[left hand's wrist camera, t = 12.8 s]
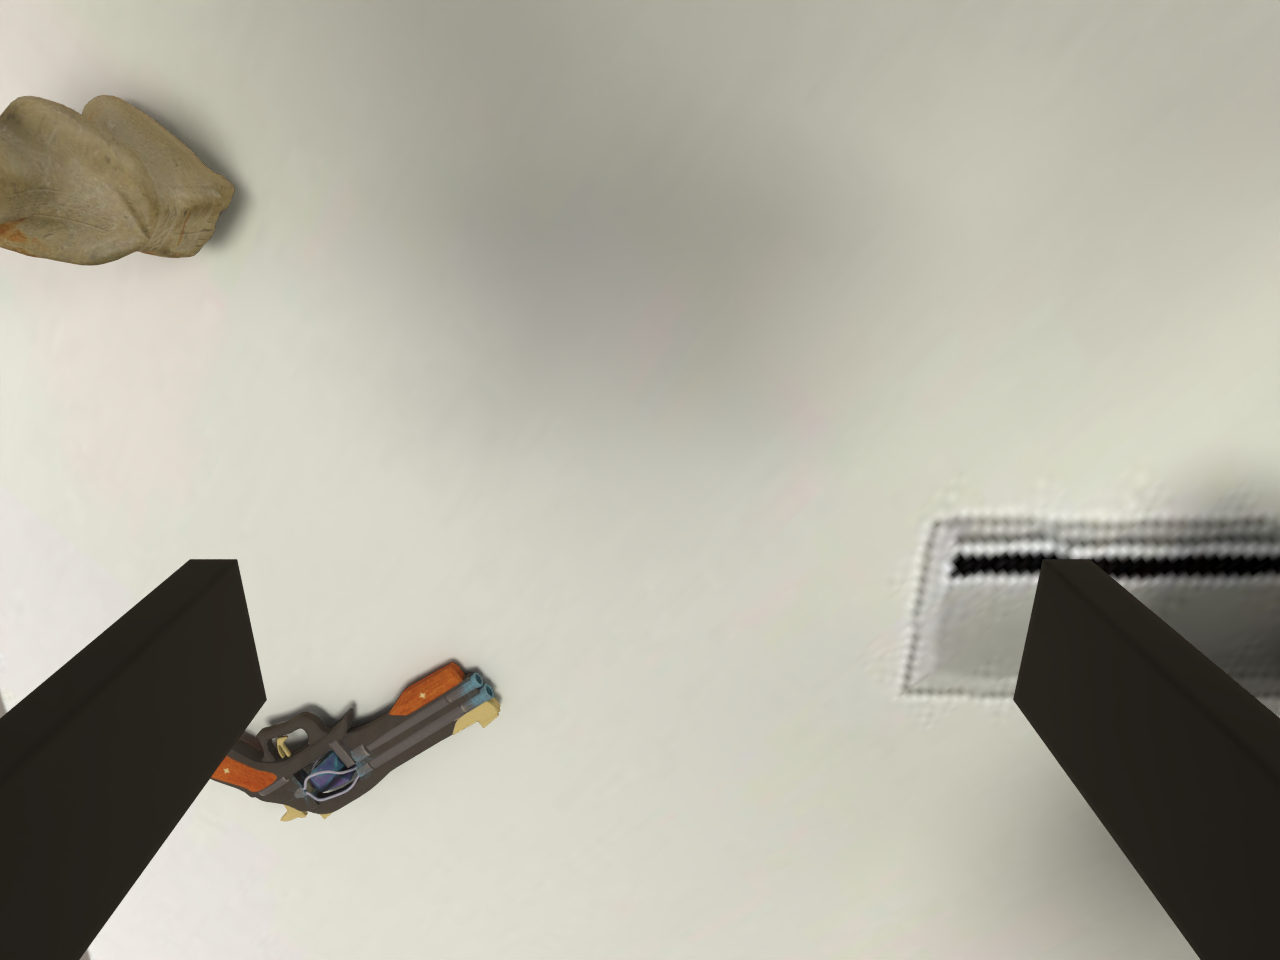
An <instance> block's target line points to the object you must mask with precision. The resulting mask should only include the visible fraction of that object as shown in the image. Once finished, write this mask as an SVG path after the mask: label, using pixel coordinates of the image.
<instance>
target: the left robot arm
mask: <svg viewBox="0 0 1280 960" xmlns="http://www.w3.org/2000/svg"><path fill="white" fill-rule="evenodd" d="M266 700H267V699H266V694H265V689H264V685H263V680H262V675H261V670H260V666H259V661H258V656H257V651H256V647H255V642H254V637H253V632H252V628H251V623H250V618H249V613H248V609H247V604H246V599H245V594H244V590H243V585H242V580H241V575H240V571H239V566H238V561H237V559H190V560H189V561H188V562H186V563H185V564H184V565H183V566H182V567H180V568H179V569H178V570H177V571H176V572H174V573H173V574H172V575H171V576H170V577H169V578H167V579H166V580H165V581H164V582H163V583H161V584H160V585H159V586H158V587H157V588H155V589H154V590H153V591H152V592H151V593H149V594H148V595H147V596H146V597H145V598H143V599H142V600H141V601H140V602H139V603H137V604H136V605H135V606H134V607H133V608H132V609H130V610H129V611H128V612H127V613H126V614H124V615H123V616H122V617H121V618H120V619H118V620H117V621H116V622H115V623H114V624H112V625H111V626H110V627H109V628H108V629H106V630H105V631H104V632H103V633H102V634H100V635H99V636H98V637H97V638H96V639H95V640H93V641H92V642H91V643H90V644H89V645H87V646H86V647H85V648H84V649H83V650H81V651H80V652H79V653H78V654H77V655H75V656H74V657H73V658H72V659H71V660H69V661H68V662H67V663H66V664H65V665H64V666H62V667H61V668H60V669H59V670H58V671H56V672H55V673H54V674H53V675H52V676H50V677H49V678H48V679H47V680H46V681H44V682H43V683H42V684H41V685H40V686H38V687H37V688H36V689H35V690H34V691H32V692H31V693H30V694H29V695H28V696H27V697H25V698H24V699H23V700H22V701H21V702H19V703H18V704H17V705H16V706H15V707H13V708H12V709H11V710H10V711H9V712H7V713H6V714H5V715H4V716H3V717H2V718H0V960H79V959H80V958H81V957H82V955H83V954H84V952H85V951H86V950H87V948H88V947H89V946H90V944H91V943H92V941H93V940H94V939H95V937H96V936H97V934H98V933H99V932H100V930H101V929H102V928H103V926H104V925H105V923H106V922H107V921H108V919H109V918H110V916H111V915H112V914H113V912H114V911H115V909H116V908H117V907H118V905H119V904H120V903H121V901H122V900H123V898H124V897H125V896H126V894H127V893H128V891H129V890H130V889H131V887H132V886H133V885H134V883H135V882H136V880H137V879H138V878H139V876H140V875H141V873H142V872H143V871H144V869H145V868H146V867H147V865H148V864H149V862H150V861H151V860H152V858H153V857H154V855H155V854H156V853H157V851H158V850H159V848H160V847H161V846H162V844H163V843H164V842H165V840H166V839H167V837H168V836H169V835H170V833H171V832H172V830H173V829H174V828H175V826H176V825H177V824H178V822H179V821H180V819H181V818H182V817H183V815H184V814H185V812H186V811H187V810H188V808H189V807H190V806H191V804H192V803H193V801H194V800H195V799H196V797H197V796H198V794H199V793H200V792H201V790H202V789H203V787H204V786H205V785H206V783H207V782H208V781H209V779H210V778H211V776H212V775H213V774H214V772H215V771H216V769H217V768H218V767H219V765H220V764H221V763H222V761H223V760H224V758H225V757H226V756H227V754H228V753H229V751H230V750H231V749H232V747H233V746H234V745H235V743H236V742H237V740H238V739H239V738H240V736H241V735H242V733H243V732H244V731H245V729H246V728H247V726H248V725H249V724H250V722H251V721H252V720H253V718H254V717H255V715H256V714H257V713H258V711H259V710H260V708H261V707H262V706H263V704H264V703H265V702H266ZM1013 700H1014V702H1015V703H1016V704H1017V706H1018V707H1019V708H1020V710H1021V711H1022V713H1023V714H1024V715H1025V717H1026V718H1027V720H1028V721H1029V722H1030V724H1031V725H1032V726H1033V728H1034V729H1035V731H1036V732H1037V733H1038V735H1039V736H1040V738H1041V739H1042V740H1043V742H1044V743H1045V745H1046V746H1047V747H1048V749H1049V750H1050V751H1051V753H1052V754H1053V756H1054V757H1055V758H1056V760H1057V761H1058V763H1059V764H1060V765H1061V767H1062V768H1063V769H1064V771H1065V772H1066V774H1067V775H1068V776H1069V778H1070V779H1071V781H1072V782H1073V783H1074V785H1075V786H1076V787H1077V789H1078V790H1079V792H1080V793H1081V794H1082V796H1083V797H1084V799H1085V800H1086V801H1087V803H1088V804H1089V806H1090V807H1091V808H1092V810H1093V811H1094V812H1095V814H1096V815H1097V817H1098V818H1099V819H1100V821H1101V822H1102V824H1103V825H1104V826H1105V828H1106V829H1107V830H1108V832H1109V833H1110V835H1111V836H1112V837H1113V839H1114V840H1115V842H1116V843H1117V844H1118V846H1119V847H1120V848H1121V850H1122V851H1123V853H1124V854H1125V855H1126V857H1127V858H1128V860H1129V861H1130V862H1131V864H1132V865H1133V867H1134V868H1135V869H1136V871H1137V872H1138V873H1139V875H1140V876H1141V878H1142V879H1143V880H1144V882H1145V883H1146V885H1147V886H1148V887H1149V889H1150V890H1151V891H1152V893H1153V894H1154V896H1155V897H1156V898H1157V900H1158V901H1159V903H1160V904H1161V905H1162V907H1163V908H1164V909H1165V911H1166V912H1167V914H1168V915H1169V916H1170V918H1171V919H1172V921H1173V922H1174V923H1175V925H1176V926H1177V928H1178V929H1179V930H1180V932H1181V933H1182V934H1183V936H1184V937H1185V939H1186V940H1187V941H1188V943H1189V944H1190V946H1191V947H1192V948H1193V950H1194V951H1195V952H1196V954H1197V955H1198V957H1199V958H1200V959H1201V960H1280V718H1279V717H1277V716H1276V715H1275V714H1274V713H1273V712H1271V711H1270V710H1269V709H1268V708H1267V707H1265V706H1264V705H1263V704H1262V703H1261V702H1259V701H1258V700H1257V699H1256V698H1255V697H1253V696H1252V695H1251V694H1250V693H1249V692H1248V691H1246V690H1245V689H1244V688H1243V687H1242V686H1240V685H1239V684H1238V683H1237V682H1236V681H1234V680H1233V679H1232V678H1231V677H1230V676H1228V675H1227V674H1226V673H1225V672H1224V671H1222V670H1221V669H1220V668H1219V667H1218V666H1216V665H1215V664H1214V663H1213V662H1212V661H1211V660H1209V659H1208V658H1207V657H1206V656H1205V655H1203V654H1202V653H1201V652H1200V651H1199V650H1197V649H1196V648H1195V647H1194V646H1193V645H1191V644H1190V643H1189V642H1188V641H1187V640H1185V639H1184V638H1183V637H1182V636H1181V635H1179V634H1178V633H1177V632H1176V631H1175V630H1174V629H1172V628H1171V627H1170V626H1169V625H1168V624H1166V623H1165V622H1164V621H1163V620H1162V619H1160V618H1159V617H1158V616H1157V615H1156V614H1154V613H1153V612H1152V611H1151V610H1150V609H1148V608H1147V607H1146V606H1145V605H1144V604H1143V603H1141V602H1140V601H1139V600H1138V599H1137V598H1135V597H1134V596H1133V595H1132V594H1131V593H1129V592H1128V591H1127V590H1126V589H1125V588H1123V587H1122V586H1121V585H1120V584H1119V583H1117V582H1116V581H1115V580H1114V579H1113V578H1111V577H1110V576H1109V575H1108V574H1107V573H1106V572H1104V571H1103V570H1102V569H1101V568H1100V567H1098V566H1097V565H1096V564H1095V563H1094V562H1092V561H1091V560H1090V559H1043V561H1042V566H1041V571H1040V575H1039V580H1038V585H1037V590H1036V594H1035V599H1034V604H1033V609H1032V613H1031V618H1030V623H1029V628H1028V632H1027V637H1026V642H1025V647H1024V651H1023V656H1022V661H1021V666H1020V670H1019V675H1018V680H1017V685H1016V689H1015V694H1014V699H1013Z"/></svg>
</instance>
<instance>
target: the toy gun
mask: <svg viewBox="0 0 1280 960" xmlns="http://www.w3.org/2000/svg"><path fill="white" fill-rule="evenodd" d="M500 706H501V705H500V704H499V703H498V701H497V700H496V699H495V698H494V692H493V689H492V688H491V686H490V685H488V684H484V685H483V679H482V677H481V676H480V675H479V674H478V673H477V672H475V673H474V674H472V673H471V672H470V673H469V674H467V675H465V674H464V673H463V671H462V670H461V669H460V668H459V666H458V665H456V664H455V663H450V664H448V665H447V666H445V667H443V668H441V669H439V670H437V671H436V672H434V673H432V674H430V675H428V676H427V677H425V678H423V679H421V680H420V681H418V682H416V683H415V684H413V685H411V686H409V687H408V688H406V689H405V690H404V691H403V692H402V694H401V695H400V697H399V698H398V700H397V702H396V703H395V705H394V706H393V708H392V709H391V710H390V711H388V712H387V713H385V714H383V715H382V716H380V717H378V718H377V719H375V720H374V721H372V722H370V723H367V724H365V725H362V726H359V727H354V728H351V726H352V723H353V708H351V709H350V710H349V711H348V712H347V714H346V715H345V716H344V717H343V718H342V720H341V721H339V722H338V723H337V724H336V725H335V726H334V727H332V728H331V727H327V726H326V725H325V724H324V723H323V721H322V720H321V719H320V718H319V717H318V716H316V715H314V714H311V713H308V712H304V713H301V714H300V715H298V716H297V717H295V718H293V719H291V720H289V721H287V722H284V723H281V724H278V725H274V726H270V727H266V728H263V729H262V730H261V731H260V732H259V733H258V734H257V739H258V741H259V742H260V744H261V746H262V748H263V751H264V752H262V751H259V750H257V749H255V748H253V747H251V746H249V745H248V744H246V743H244V742H243V741H241V740H240V739H238V740H237V742H236V743H235V745H234V746H233V747H232V749H231V750H230V751H229V753H228V754H227V756H226V757H225V758H224V760H223V761H222V763H221V764H220V765H219V767H218V768H217V769H216V771H215V772H214V774H213V775H212V776H211V778H210V779H212V780H214V781H217V782H220V783H223V784H226V785H229V786H232V787H235V788H237V789H239V790H241V791H244V792H245V793H246V794H248V795H249V796H250V797H256V798H258V799H260V800H262V801H266V802H272V803H279V804H284V806H285V807H286V809H287V812H286V813H285V815H284V816H283V817H282V818H281V821H289V820H292V819H295V818H297V817H301V818H302V817H306V815H307V814H308V813H307V812H306V811H309V812H313V813H317V814H320V815H321V816H322V817H323V818H324V819H325V818H327V817H328V816H329V815H330V814H331V813H332V812H334V811H336V810H338V809H340V808H342V807H344V806H345V805H347V804H349V803H350V802H352V801H354V800H355V799H357V798H359V797H360V796H362V795H363V794H365V793H366V792H368V791H369V790H370V789H372V788H373V787H374V786H375V785H376V784H378V783H379V782H380V781H381V780H382V779H383V778H384V777H385V776H386V775H387V774H388V773H389V772H390V771H392V770H393V769H395V768H396V767H398V766H400V765H401V764H403V763H405V762H406V761H408V760H410V759H411V758H413V757H415V756H416V755H418V754H420V753H421V752H423V751H425V750H426V749H428V748H430V747H431V746H433V745H435V744H436V743H438V742H440V741H442V740H443V739H445V738H447V737H449V736H451V735H452V734H453V735H454V734H456V733H458V732H459V731H461V730H463V729H465V728H466V727H468V726H470V725H472V724H473V723H475V722H477V721H478V722H479V723H480V724H481V725H482V727H483V728H484V727H486V726H487V725H488V724H489V723H490V722H491V721H493V720H494V719H495V718H496V717H497V716H498V715H499V714H498V712H500ZM300 728H302V729H304V730H305V732H306V733H307V734H308V740H309V743H307V744H305V745H304V746H302V747H301V748H299V749H297V750H296V751H294V752H292V753H291V752H290V751H289V750H288V748H287V747H286V745H285V744H284V741H285V740H286V739H287V738H288V736H283V735H286V734H289V733H291V732H293V731H295V730H297V729H300ZM279 736H280V737H279ZM276 737H278V739H277V749H278V751H277V750H276V749H275V747H274V746H273V743H272V738H276ZM280 746H281V747H280ZM281 748H282V749H283V751H284V752H285V754H284V753H283V751H282V749H281ZM331 748H332V749H331ZM329 751H332V752H331V753H329V754H328V755H327V756H326V757H325V758H324V759H323V760H322V761H321V763H320V764H319V765H318V766H317V767H316V768H315V766H316V764H317V763H318V761H319V760H320V759H321V758H322V757H323V756H324V755H325V754H326V753H328V752H329ZM315 760H316V762H315V763H314V765H313V767H312V771H311V773H310V774H309V775H307V773H306V772H305V771H304V770H303V768H304V767H306V766H307V765H309V764H311V763H312V762H314V761H315ZM355 770H356V771H357V773H358V776H357V777H356V779H355V780H354V781H353V782H351V783H349V784H348V785H346V786H344V787H343V788H340V789H338V790H336V791H333V792H329V793H323V792H325V791H328V790H330V789H333V788H335V787H338V786H340V785H342V784H344V783H347V782H349V781H350V780H351V778H352V776H353V774H354V772H355Z"/></svg>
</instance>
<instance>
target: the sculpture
mask: <svg viewBox="0 0 1280 960" xmlns="http://www.w3.org/2000/svg"><path fill="white" fill-rule="evenodd" d="M233 194H234V186H233V185H232V184H231V183H230V182H229V181H228V180H227V179H226V178H225V177H223V176H222V175H220V174H216V173H214V172H212V171H211V170H210V169H209V168H208V167H206V166H205V165H204V164H203V163H202V162H201V160H200V159H199V158H198V157H197V156H196V155H195V154H194V153H193V152H192V151H191V150H190V149H189V148H188V147H187V146H186V145H185V144H183V143H182V142H181V141H180V140H179V139H177V138H176V137H175V136H174V135H172V134H171V133H170V132H169V131H167V130H166V129H165V128H164V127H162V126H161V125H160V124H159V123H157V122H156V121H155V120H153V119H152V118H151V117H150V116H148V115H147V114H145V113H143V112H142V111H140V110H139V109H137V108H135V107H134V106H132V105H131V104H129V103H127V102H125V101H124V100H122V99H120V98H118V97H115V96H108V95H101V96H97V97H95V98H94V99H92V100H91V101H89V102H88V103H87V105H86V106H85V107H84V110H83V113H82V115H81V114H79V113H78V112H76V111H74V110H72V109H70V108H68V107H66V106H64V105H62V104H59V103H56V102H53V101H50V100H47V99H43V98H40V97H34V96H23V97H19V98H17V99H16V100H14V101H13V102H11V103H10V105H9V106H8V107H7V108H6V109H5V111H4V112H3V113H2V114H1V116H0V247H1V248H5V249H8V250H12V251H15V252H18V253H21V254H24V255H27V256H32V257H39V258H46V259H51V260H55V261H61V262H67V263H72V264H78V265H100V264H105V263H108V262H112V261H115V260H118V259H120V258H122V257H125V256H127V255H129V254H131V253H133V252H136V251H139V252H142V253H146V254H151V255H156V256H161V257H169V258H180V257H191V256H194V255H196V254H197V253H198V252H199V251H200V249H201V248H202V247H203V245H204V244H206V242H207V241H208V240H209V239H210V238H211V236H212V235H213V233H214V231H215V229H216V226H215V224H216V222H217V219H218V217H219V214H220V212H221V211H223V210H225V209H226V208H227V207H228V206H229V204H230V201H231V199H232V196H233Z"/></svg>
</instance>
